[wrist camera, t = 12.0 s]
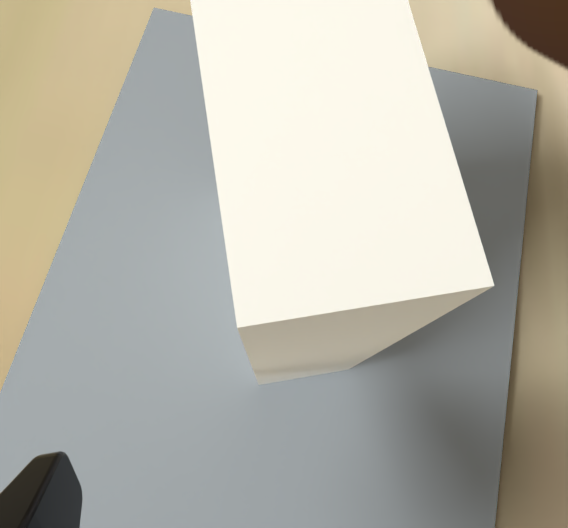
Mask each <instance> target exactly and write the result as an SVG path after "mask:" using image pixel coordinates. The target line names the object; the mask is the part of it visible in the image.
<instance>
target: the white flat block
mask: <svg viewBox="0 0 568 528" xmlns="http://www.w3.org/2000/svg"><path fill="white" fill-rule="evenodd" d="M190 2H191V9H192V16H193V23H194V30H195V37H196V44H197V51H198V58H199V65H200V72H201V79H202V86H203V93H204V100H205V107H206V114H207V121H208V128H209V135H210V142H211V149H212V156H213V163H214V170H215V177H216V184H217V191H218V198H219V205H220V212H221V219H222V226H223V233H224V240H225V247H226V254H227V261H228V268H229V275H230V282H231V289H232V296H233V303H234V310H235V317H236V324H237V329H238V332H239V334H240V337H241V340H242V342H243V345H244V348H245V350H246V353H247V355H248V358H249V361H250V363H251V366H252V369H253V371H254V374H255V377H256V379H257V382H258V384H259V385H262V384H267V383H273V382H279V381H285V380H291V379H296V378H302V377H308V376H314V375H320V374H325V373H331V372H337V371H343V370H349V369H350V368H352V367H354V366H356V365H357V364H359V363H361V362H362V361H364V360H366V359H368V358H369V357H371V356H373V355H375V354H376V353H378V352H380V351H382V350H383V349H385V348H387V347H389V346H390V345H392V344H394V343H396V342H397V341H399V340H401V339H403V338H404V337H406V336H408V335H410V334H411V333H413V332H415V331H417V330H418V329H420V328H422V327H424V326H425V325H427V324H429V323H431V322H432V321H434V320H436V319H438V318H439V317H441V316H443V315H445V314H446V313H448V312H450V311H452V310H453V309H455V308H457V307H459V306H460V305H462V304H464V303H465V302H467V301H469V300H471V299H472V298H474V297H476V296H478V295H479V294H481V293H483V292H485V291H486V290H488V289H490V288H492V287H493V286H494V282H493V279H492V276H491V272H490V269H489V266H488V263H487V259H486V256H485V253H484V249H483V246H482V243H481V239H480V236H479V233H478V230H477V226H476V223H475V220H474V216H473V213H472V210H471V207H470V203H469V200H468V197H467V193H466V190H465V187H464V184H463V180H462V177H461V174H460V170H459V167H458V164H457V160H456V157H455V154H454V151H453V147H452V144H451V141H450V137H449V134H448V131H447V128H446V124H445V121H444V118H443V114H442V111H441V108H440V104H439V101H438V98H437V95H436V91H435V88H434V85H433V81H432V78H431V75H430V72H429V68H428V65H427V62H426V58H425V55H424V52H423V48H422V45H421V42H420V39H419V35H418V32H417V29H416V25H415V22H414V19H413V16H412V12H411V9H410V6H409V2H408V0H190Z"/></svg>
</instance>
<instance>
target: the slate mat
mask: <svg viewBox="0 0 568 528" xmlns="http://www.w3.org/2000/svg"><path fill="white" fill-rule="evenodd" d="M428 68H429V72H430V75H431V78H432V81H433V85H434V88H435V91H436V95H437V98H438V101H439V104H440V108H441V111H442V114H443V118H444V121H445V124H446V128H447V131H448V134H449V137H450V141H451V144H452V147H453V151H454V154H455V157H456V160H457V164H458V167H459V170H460V174H461V177H462V180H463V184H464V187H465V190H466V193H467V197H468V200H469V203H470V207H471V210H472V213H473V216H474V220H475V223H476V226H477V230H478V233H479V236H480V239H481V243H482V246H483V249H484V253H485V256H486V259H487V263H488V266H489V269H490V272H491V276H492V279H493V282H494V286H493V287H492V288H490V289H488V290H486V291H485V292H483V293H481V294H479V295H478V296H476V297H474V298H472V299H471V300H469V301H467V302H465V303H464V304H462V305H460V306H459V307H457V308H455V309H453V310H452V311H450V312H448V313H446V314H445V315H443V316H441V317H439V318H438V319H436V320H434V321H432V322H431V323H429V324H427V325H425V326H424V327H422V328H420V329H418V330H417V331H415V332H413V333H411V334H410V335H408V336H406V337H404V338H403V339H401V340H399V341H397V342H396V343H394V344H392V345H390V346H389V347H387V348H385V349H383V350H382V351H380V352H378V353H376V354H375V355H373V356H371V357H369V358H368V359H366V360H364V361H362V362H361V363H359V364H357V365H356V366H354V367H352V368H350V369H349V370H343V371H337V372H331V373H325V374H320V375H314V376H308V377H302V378H296V379H291V380H285V381H279V382H273V383H267V384H262V385H259V384H258V382H257V379H256V377H255V374H254V371H253V369H252V366H251V363H250V361H249V358H248V355H247V353H246V350H245V348H244V345H243V342H242V340H241V337H240V334H239V332H238V329H237V324H236V317H235V310H234V303H233V296H232V289H231V282H230V275H229V268H228V261H227V254H226V247H225V240H224V233H223V226H222V219H221V212H220V205H219V198H218V191H217V184H216V177H215V170H214V163H213V156H212V149H211V142H210V135H209V128H208V121H207V114H206V107H205V100H204V93H203V86H202V79H201V72H200V65H199V58H198V51H197V44H196V37H195V30H194V23H193V16H190V15H186V14H181V13H176V12H172V11H167V10H162V9H158V8H154V9H153V11H152V14H151V16H150V19H149V21H148V24H147V26H146V29H145V31H144V34H143V36H142V39H141V41H140V44H139V46H138V49H137V51H136V54H135V56H134V59H133V62H132V64H131V67H130V69H129V72H128V74H127V77H126V79H125V82H124V84H123V87H122V89H121V92H120V94H119V97H118V99H117V102H116V104H115V107H114V109H113V112H112V114H111V117H110V119H109V122H108V124H107V127H106V129H105V132H104V134H103V137H102V139H101V142H100V144H99V147H98V149H97V152H96V154H95V157H94V159H93V162H92V164H91V167H90V169H89V172H88V174H87V177H86V179H85V182H84V184H83V187H82V189H81V192H80V194H79V197H78V199H77V202H76V204H75V207H74V209H73V212H72V214H71V217H70V219H69V222H68V224H67V227H66V229H65V232H64V234H63V237H62V239H61V242H60V244H59V247H58V249H57V252H56V254H55V257H54V259H53V262H52V264H51V267H50V269H49V272H48V274H47V277H46V279H45V282H44V284H43V287H42V289H41V292H40V294H39V297H38V299H37V302H36V304H35V307H34V309H33V312H32V314H31V317H30V319H29V322H28V324H27V327H26V329H25V332H24V334H23V337H22V339H21V342H20V345H19V347H18V350H17V352H16V355H15V357H14V360H13V362H12V365H11V367H10V370H9V372H8V375H7V377H6V380H5V382H4V385H3V387H2V390H1V392H0V493H1V492H2V491H3V490H4V489H5V488H6V487H7V486H8V485H9V483H10V482H11V481H12V480H13V479H14V478H15V477H16V476H17V475H18V474H19V473H20V472H21V471H22V470H23V469H24V468H25V467H26V465H27V464H28V463H29V462H30V461H31V460H32V459H33V458H35V457H36V456H38V455H41V454H47V453H53V452H58V451H62V452H65V453H66V454H67V455H68V457H69V459H70V462H71V464H72V466H73V468H74V471H75V473H76V475H77V478H78V480H79V482H80V485H81V488H82V498H83V500H82V510H81V519H80V528H495V520H496V510H497V500H498V490H499V479H500V469H501V459H502V448H503V438H504V428H505V418H506V407H507V397H508V387H509V376H510V366H511V356H512V346H513V335H514V325H515V315H516V305H517V294H518V284H519V274H520V263H521V253H522V243H523V233H524V222H525V212H526V202H527V191H528V181H529V171H530V161H531V150H532V140H533V130H534V119H535V109H536V99H537V90H534V89H529V88H525V87H520V86H515V85H511V84H506V83H501V82H497V81H492V80H487V79H483V78H478V77H474V76H469V75H464V74H460V73H455V72H450V71H446V70H441V69H436V68H432V67H428Z"/></svg>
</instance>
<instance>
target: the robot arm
mask: <svg viewBox="0 0 568 528" xmlns="http://www.w3.org/2000/svg"><path fill="white" fill-rule="evenodd" d="M82 500H83V498H82V488H81V485H80V482H79V480H78V478H77V475H76V473H75V471H74V468H73V466H72V464H71V462H70V459H69V457H68V455H67V454H66V453H65V452H62V451H58V452H53V453H47V454H41V455H38V456H36V457H35V458H33V459H32V460H31V461H30V462H29V463H28V464H27V465H26V467H25V468H24V469H23V470H22V471H21V472H20V473H19V474H18V475H17V476H16V477H15V478H14V479H13V480H12V481H11V482H10V483H9V485H8V486H7V487H6V488H5V489H4V490H3V491H2V492H1V493H0V528H80V519H81V510H82Z"/></svg>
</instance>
